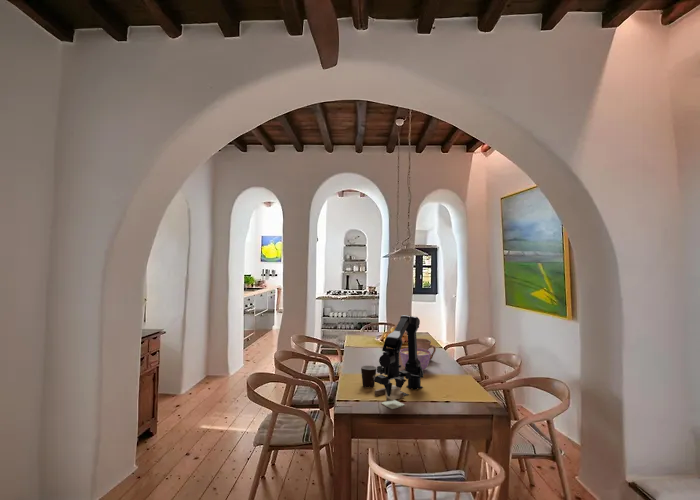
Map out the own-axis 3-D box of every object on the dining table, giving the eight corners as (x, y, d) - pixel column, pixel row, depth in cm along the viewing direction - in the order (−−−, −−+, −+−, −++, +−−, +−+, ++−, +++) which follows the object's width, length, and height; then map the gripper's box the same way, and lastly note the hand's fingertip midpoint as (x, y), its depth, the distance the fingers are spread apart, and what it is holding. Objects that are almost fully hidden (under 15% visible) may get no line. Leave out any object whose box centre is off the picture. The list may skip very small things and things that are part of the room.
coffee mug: (367, 389, 209) (367, 370, 210) (357, 385, 216) (357, 366, 216) (383, 385, 216) (383, 367, 216) (373, 381, 223) (373, 363, 223)
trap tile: (398, 390, 208) (398, 390, 208) (408, 394, 201) (408, 394, 201) (391, 392, 205) (391, 391, 205) (401, 396, 198) (401, 396, 198)
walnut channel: (389, 391, 206) (389, 386, 206) (403, 397, 197) (403, 392, 197) (374, 395, 201) (374, 390, 201) (388, 401, 192) (388, 396, 192)
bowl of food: (429, 366, 257) (429, 348, 257) (432, 375, 237) (433, 355, 237) (399, 364, 259) (399, 347, 259) (399, 373, 239) (400, 354, 239)
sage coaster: (393, 400, 193) (393, 399, 193) (404, 405, 186) (404, 404, 186) (381, 403, 188) (381, 402, 188) (392, 409, 182) (392, 407, 182)
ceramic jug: (409, 362, 266) (409, 341, 266) (409, 357, 280) (409, 337, 280) (436, 364, 263) (436, 343, 263) (434, 358, 277) (435, 338, 277)
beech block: (393, 395, 191) (393, 384, 191) (400, 398, 187) (400, 387, 187) (385, 397, 188) (385, 386, 188) (392, 400, 184) (392, 389, 184)
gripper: (396, 356, 200) (396, 387, 199) (367, 361, 189) (367, 393, 189) (411, 361, 191) (411, 393, 190) (382, 366, 180) (382, 400, 180)
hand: (393, 395), depth 187 cm, fingers closed on beech block, 5 cm apart
